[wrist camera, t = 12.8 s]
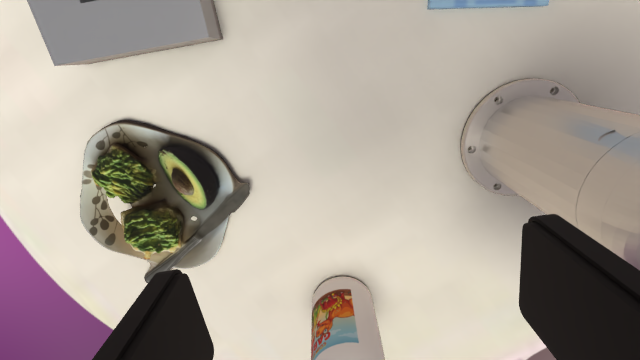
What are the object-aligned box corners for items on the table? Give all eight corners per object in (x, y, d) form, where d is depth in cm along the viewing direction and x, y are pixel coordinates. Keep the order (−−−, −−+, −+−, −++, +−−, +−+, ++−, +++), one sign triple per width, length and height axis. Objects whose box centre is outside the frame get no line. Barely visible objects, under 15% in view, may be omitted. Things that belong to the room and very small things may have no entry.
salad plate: (218, 293, 44) (207, 318, 40) (78, 252, 42) (50, 275, 38) (261, 159, 38) (253, 173, 34) (98, 104, 36) (68, 111, 32)
